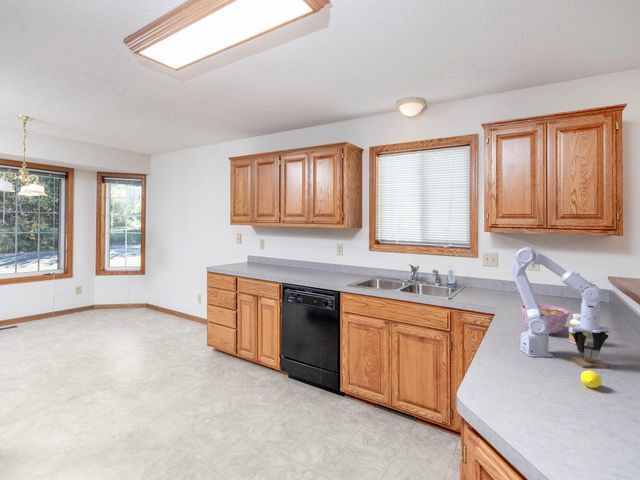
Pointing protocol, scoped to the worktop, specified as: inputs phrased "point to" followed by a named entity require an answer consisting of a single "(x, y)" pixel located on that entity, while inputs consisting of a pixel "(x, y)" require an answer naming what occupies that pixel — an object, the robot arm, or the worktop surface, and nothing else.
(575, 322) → the supplement bottle
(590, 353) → the collar ring
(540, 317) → the robot arm
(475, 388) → the worktop surface
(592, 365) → the post board
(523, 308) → the bowl of food
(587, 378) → the lemon
